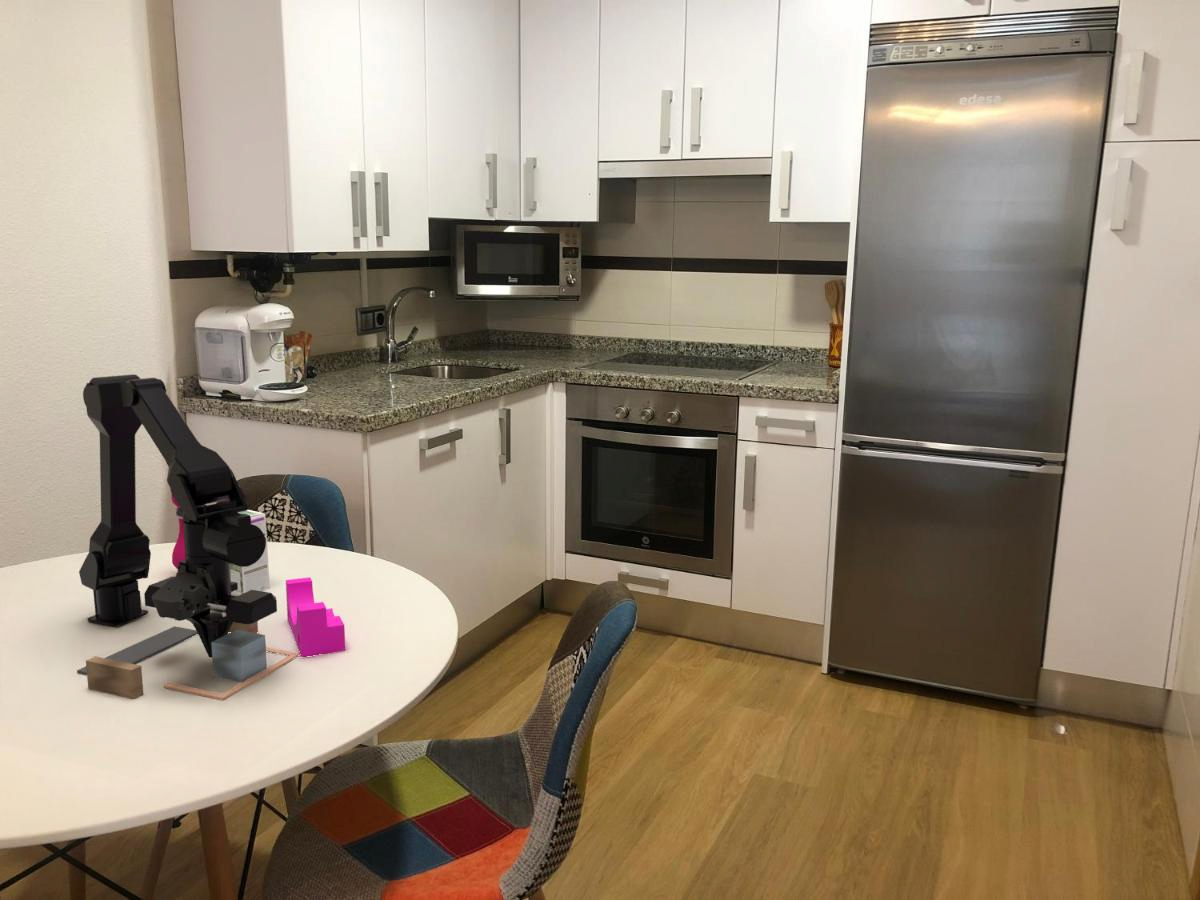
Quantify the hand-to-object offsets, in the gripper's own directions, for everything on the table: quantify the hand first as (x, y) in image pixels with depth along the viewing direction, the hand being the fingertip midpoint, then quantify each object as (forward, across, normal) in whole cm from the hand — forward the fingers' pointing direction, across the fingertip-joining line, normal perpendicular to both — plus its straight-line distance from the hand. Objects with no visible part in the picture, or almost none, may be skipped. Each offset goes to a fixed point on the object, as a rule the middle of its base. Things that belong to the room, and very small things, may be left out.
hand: (213, 656), depth 139 cm
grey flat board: (+2, -13, 0) cm, 13 cm away
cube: (+2, +5, 0) cm, 5 cm away
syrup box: (+2, -16, +26) cm, 31 cm away
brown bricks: (+2, -6, 0) cm, 7 cm away
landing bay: (+2, +3, 0) cm, 3 cm away
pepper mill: (+2, -29, +28) cm, 41 cm away
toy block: (+2, +6, +15) cm, 16 cm away
